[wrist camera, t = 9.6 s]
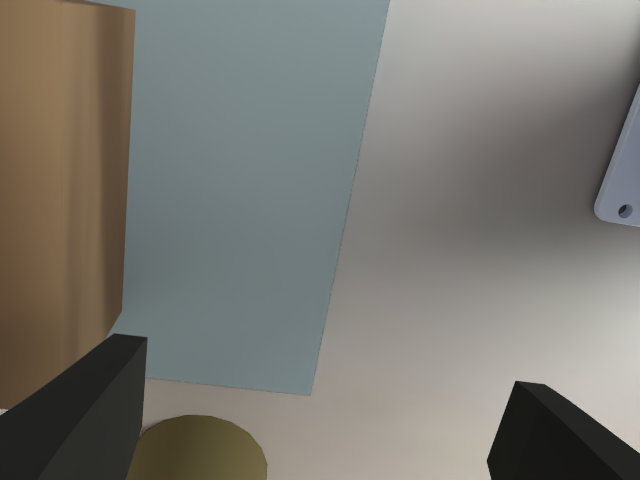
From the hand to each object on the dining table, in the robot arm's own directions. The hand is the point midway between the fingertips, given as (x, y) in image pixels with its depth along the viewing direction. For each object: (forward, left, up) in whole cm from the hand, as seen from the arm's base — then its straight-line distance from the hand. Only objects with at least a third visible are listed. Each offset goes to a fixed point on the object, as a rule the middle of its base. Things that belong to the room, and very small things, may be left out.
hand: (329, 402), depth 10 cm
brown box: (+8, -1, -9) cm, 12 cm away
